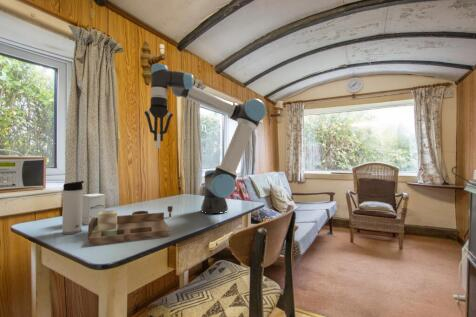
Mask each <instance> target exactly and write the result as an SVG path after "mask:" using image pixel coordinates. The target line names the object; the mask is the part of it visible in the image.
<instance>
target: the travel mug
mask: <svg viewBox="0 0 476 317" xmlns="http://www.w3.org/2000/svg"><path fill="white" fill-rule="evenodd" d="M84 183H85V182H84V180H81V181H75V182H67V183H64V184H63V187H62V190H63V193H62V227H61V229H62V231H61V233H62V234H63V235H66V236H67V235H68V236H69V235H76V234H79V233H81V232H83V231H82V230H83V227H82V226H83V223H82V195H84V194H83V193H84V192H83V190H84V189H83V184H84Z"/></svg>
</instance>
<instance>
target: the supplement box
mask: <svg viewBox="0 0 476 317" xmlns="http://www.w3.org/2000/svg"><path fill="white" fill-rule="evenodd" d="M100 211H106V193H105V194H104V193H88V194H82V224H84V225H87V226H88V224H89V223H90V221H91V219H92V218H96V217H98V214H99V212H100Z"/></svg>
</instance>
